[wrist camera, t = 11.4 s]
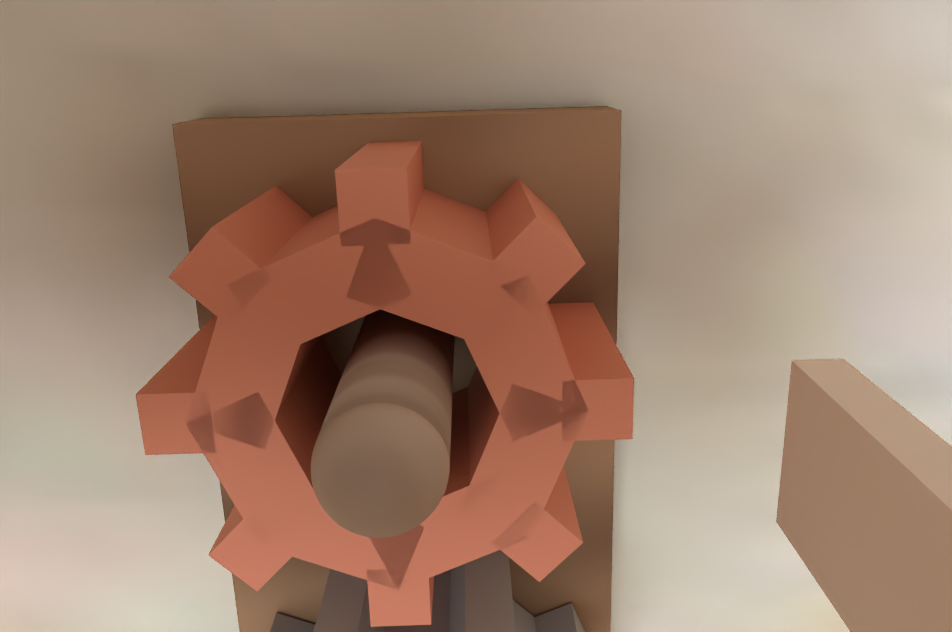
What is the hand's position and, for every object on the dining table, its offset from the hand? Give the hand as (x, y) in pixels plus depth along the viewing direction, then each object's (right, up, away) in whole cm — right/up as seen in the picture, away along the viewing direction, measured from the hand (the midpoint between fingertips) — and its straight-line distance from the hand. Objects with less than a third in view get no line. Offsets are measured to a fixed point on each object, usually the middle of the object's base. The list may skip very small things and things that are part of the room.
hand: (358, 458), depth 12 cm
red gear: (0, +2, +7) cm, 8 cm away
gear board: (0, -2, +11) cm, 11 cm away
